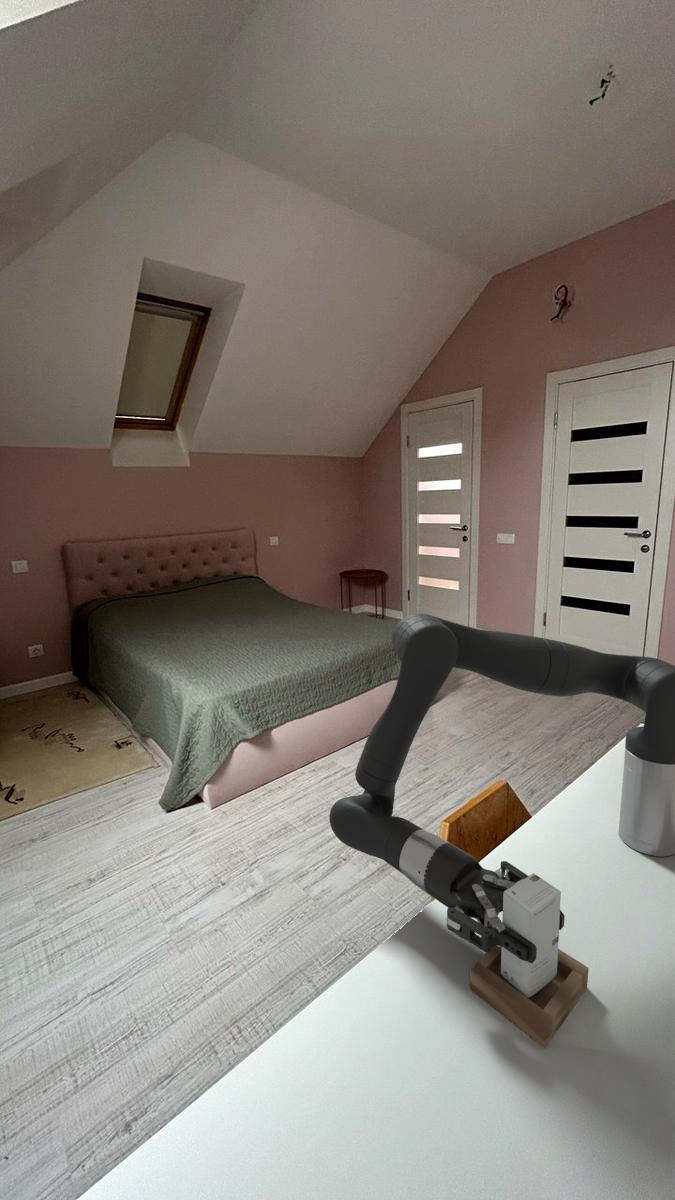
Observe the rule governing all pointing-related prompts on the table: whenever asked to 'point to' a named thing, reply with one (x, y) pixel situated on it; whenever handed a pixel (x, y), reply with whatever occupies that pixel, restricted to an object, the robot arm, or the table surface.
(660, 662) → the robot arm
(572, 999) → the wooden tray
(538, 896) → the skincare box
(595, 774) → the table surface
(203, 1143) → the table surface
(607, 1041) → the table surface
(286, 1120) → the table surface
